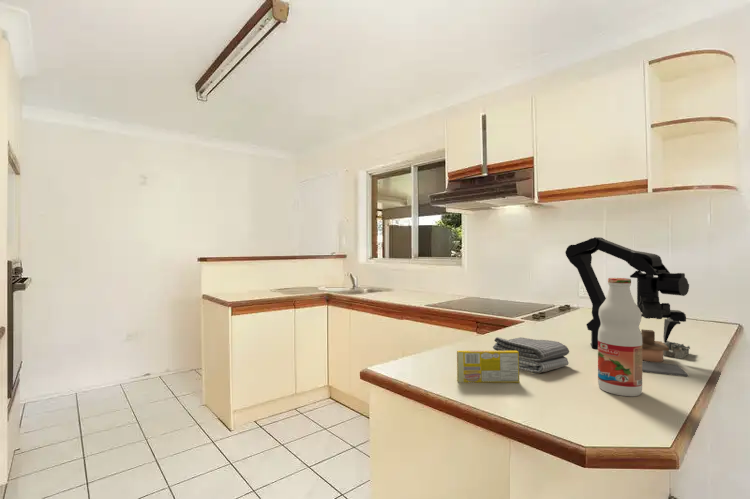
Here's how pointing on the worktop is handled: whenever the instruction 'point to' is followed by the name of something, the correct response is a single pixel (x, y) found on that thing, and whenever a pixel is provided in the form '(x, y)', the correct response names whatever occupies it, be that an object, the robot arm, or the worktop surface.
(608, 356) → the fruit juice
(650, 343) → the lid
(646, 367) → the mat
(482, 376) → the candy box
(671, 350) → the egg carton
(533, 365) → the towel
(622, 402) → the worktop surface
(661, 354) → the peach rounded dome
